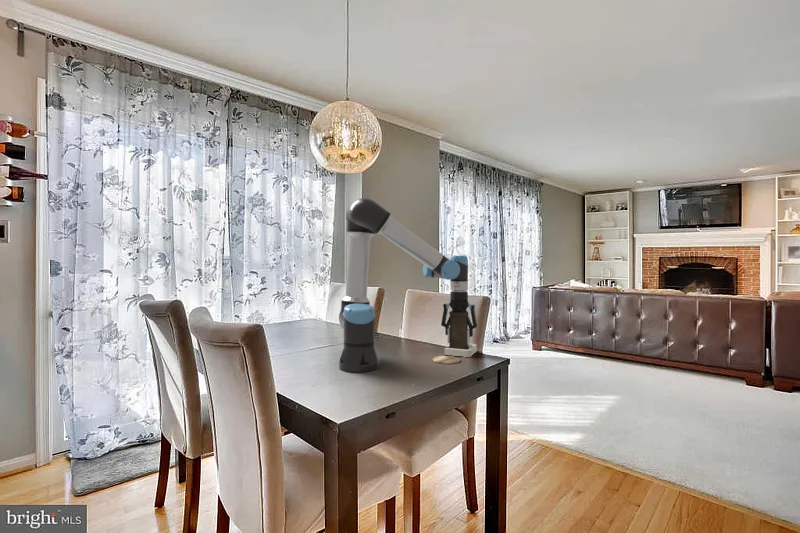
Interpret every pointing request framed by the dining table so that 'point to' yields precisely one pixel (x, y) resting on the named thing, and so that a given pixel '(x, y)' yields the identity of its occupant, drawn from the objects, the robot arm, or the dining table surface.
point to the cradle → (462, 351)
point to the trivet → (446, 359)
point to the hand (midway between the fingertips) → (458, 343)
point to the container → (458, 330)
